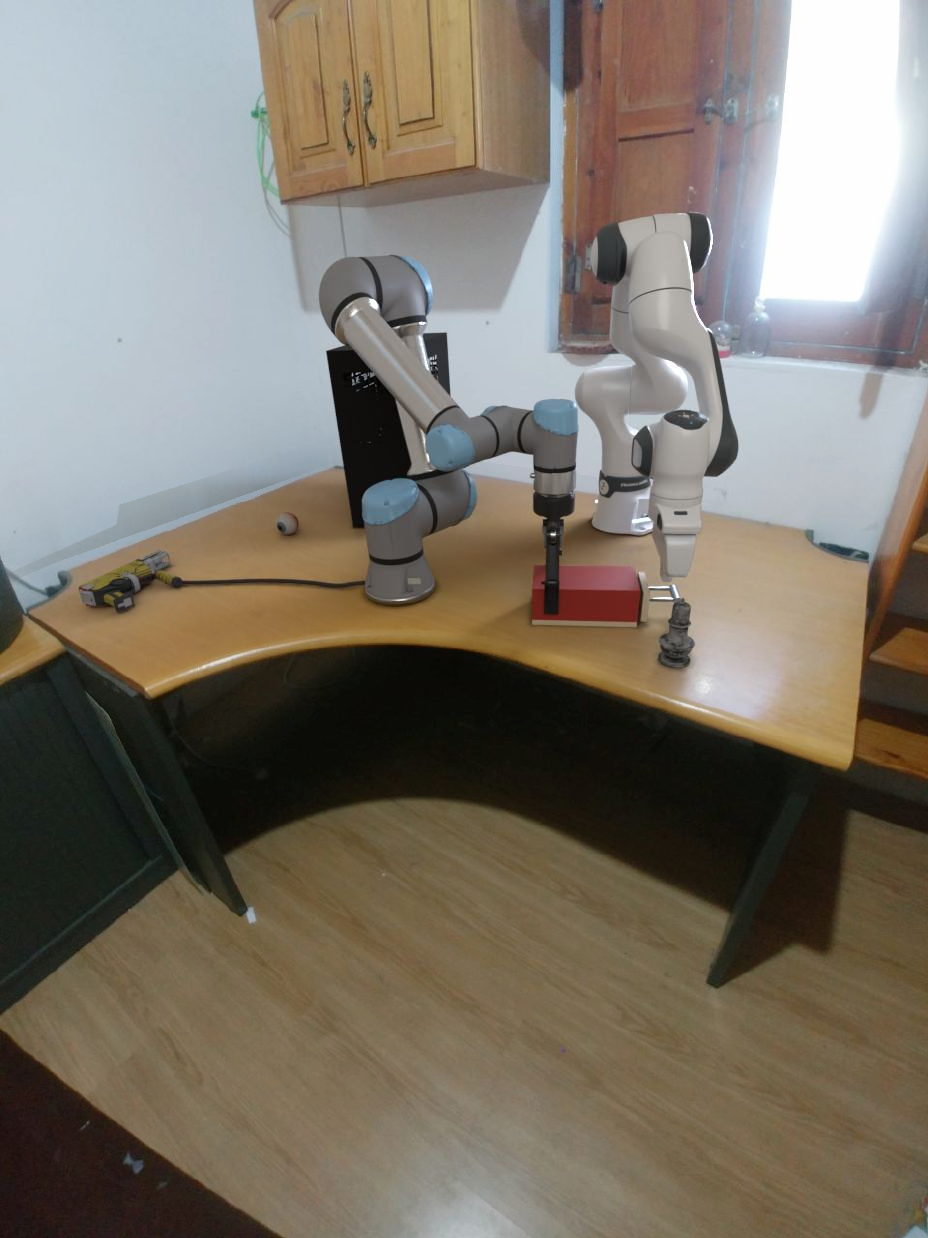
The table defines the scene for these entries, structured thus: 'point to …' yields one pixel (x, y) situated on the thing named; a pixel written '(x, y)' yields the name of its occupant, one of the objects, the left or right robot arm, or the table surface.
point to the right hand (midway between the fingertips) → (665, 578)
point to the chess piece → (677, 637)
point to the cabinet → (589, 596)
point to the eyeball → (287, 523)
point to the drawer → (646, 598)
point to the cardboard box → (373, 420)
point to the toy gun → (127, 582)
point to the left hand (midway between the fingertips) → (551, 599)
